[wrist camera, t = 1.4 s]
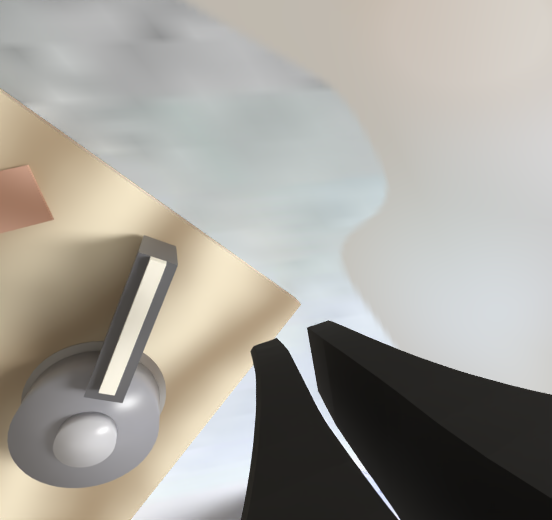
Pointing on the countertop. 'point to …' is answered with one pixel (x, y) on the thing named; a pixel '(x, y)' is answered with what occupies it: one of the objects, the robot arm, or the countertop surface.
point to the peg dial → (99, 392)
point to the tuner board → (111, 305)
